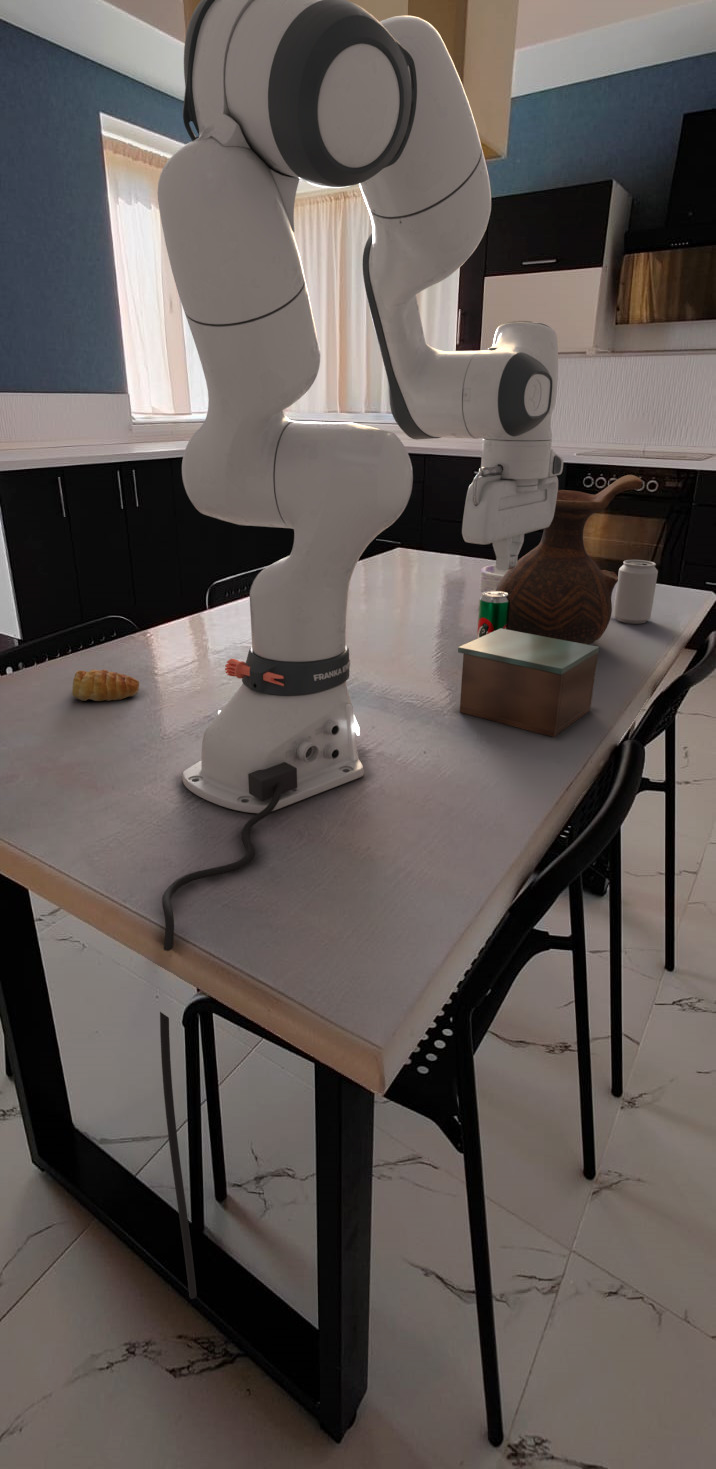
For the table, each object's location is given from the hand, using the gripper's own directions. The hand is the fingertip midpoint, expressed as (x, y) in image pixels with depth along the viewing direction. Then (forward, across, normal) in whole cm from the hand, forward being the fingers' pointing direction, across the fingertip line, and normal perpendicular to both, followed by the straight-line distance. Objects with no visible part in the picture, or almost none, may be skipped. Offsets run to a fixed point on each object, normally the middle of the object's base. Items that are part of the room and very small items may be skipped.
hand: (506, 568), depth 106 cm
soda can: (+20, +17, +10) cm, 28 cm away
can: (+20, +61, +1) cm, 64 cm away
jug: (+20, +34, +7) cm, 40 cm away
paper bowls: (+20, +57, +26) cm, 66 cm away
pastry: (+20, -34, +48) cm, 62 cm away
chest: (+20, 0, -5) cm, 21 cm away
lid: (+11, 0, -5) cm, 12 cm away
